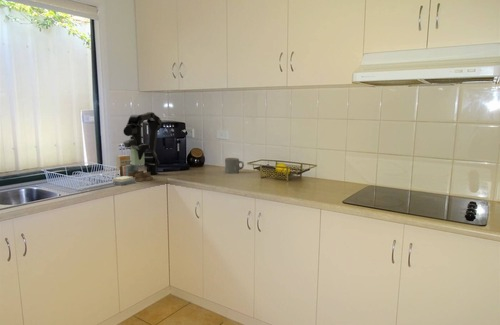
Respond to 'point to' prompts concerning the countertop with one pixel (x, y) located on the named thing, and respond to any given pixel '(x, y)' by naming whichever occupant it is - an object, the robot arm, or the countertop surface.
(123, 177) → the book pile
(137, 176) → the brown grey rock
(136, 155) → the sage book
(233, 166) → the coffee mug
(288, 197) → the countertop surface
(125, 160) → the supplement box
